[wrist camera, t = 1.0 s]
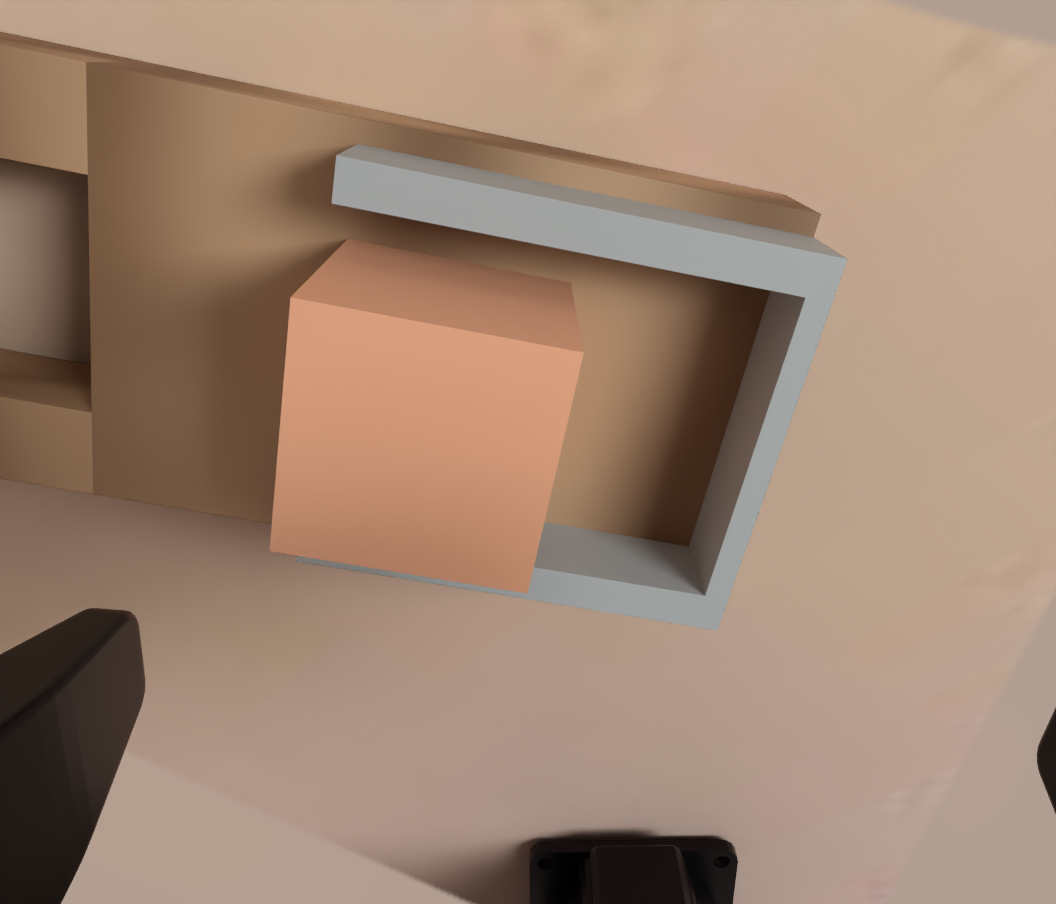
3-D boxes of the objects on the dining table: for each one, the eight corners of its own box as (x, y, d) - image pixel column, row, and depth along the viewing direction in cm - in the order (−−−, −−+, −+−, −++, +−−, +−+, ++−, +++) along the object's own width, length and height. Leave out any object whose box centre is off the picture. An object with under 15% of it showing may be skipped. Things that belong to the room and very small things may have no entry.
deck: (786, 195, 19) (820, 214, 17) (678, 540, 23) (695, 594, 20) (-134, 3, 17) (-233, -5, 15) (-90, 408, 21) (-164, 451, 19)
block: (570, 282, 17) (583, 352, 13) (527, 478, 19) (528, 593, 15) (347, 239, 17) (290, 296, 13) (325, 443, 19) (269, 551, 15)
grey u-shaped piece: (813, 237, 17) (847, 259, 15) (700, 578, 20) (717, 630, 18) (357, 144, 16) (336, 155, 14) (317, 514, 20) (295, 561, 18)
